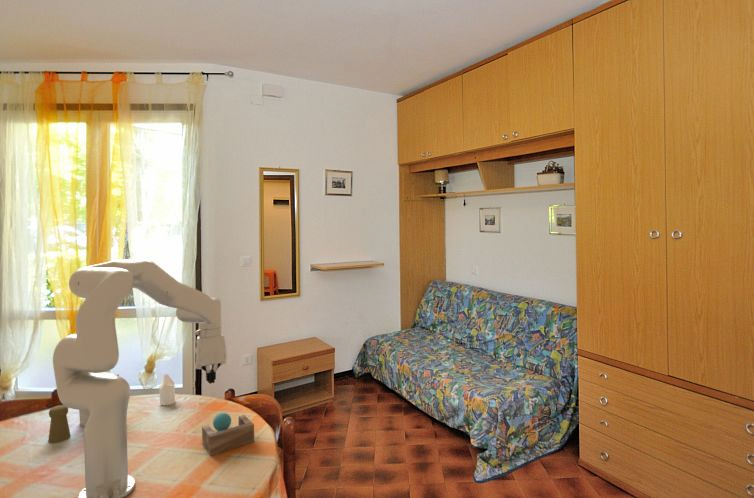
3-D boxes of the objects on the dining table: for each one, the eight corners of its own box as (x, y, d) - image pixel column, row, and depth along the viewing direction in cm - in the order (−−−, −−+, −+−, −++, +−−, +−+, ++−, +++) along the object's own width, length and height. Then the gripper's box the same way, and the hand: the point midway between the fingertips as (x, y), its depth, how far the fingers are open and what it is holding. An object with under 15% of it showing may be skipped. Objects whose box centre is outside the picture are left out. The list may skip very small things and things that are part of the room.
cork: (44, 440, 138) (43, 408, 138) (64, 432, 143) (63, 401, 143) (53, 444, 135) (52, 411, 135) (74, 436, 141) (73, 405, 140)
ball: (228, 407, 148) (225, 421, 150) (212, 411, 144) (208, 425, 145) (235, 418, 144) (231, 432, 146) (219, 422, 140) (215, 437, 141)
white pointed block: (171, 376, 166) (156, 376, 165) (172, 405, 166) (157, 406, 165) (176, 371, 172) (161, 372, 171) (176, 399, 172) (162, 400, 171)
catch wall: (254, 442, 137) (253, 424, 136) (210, 456, 128) (210, 437, 128) (244, 431, 144) (244, 414, 143) (202, 444, 135) (201, 426, 135)
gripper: (190, 337, 142) (191, 390, 142) (234, 331, 151) (235, 380, 152) (185, 333, 148) (186, 384, 148) (227, 327, 157) (228, 375, 157)
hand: (211, 382), depth 150 cm, fingers closed
